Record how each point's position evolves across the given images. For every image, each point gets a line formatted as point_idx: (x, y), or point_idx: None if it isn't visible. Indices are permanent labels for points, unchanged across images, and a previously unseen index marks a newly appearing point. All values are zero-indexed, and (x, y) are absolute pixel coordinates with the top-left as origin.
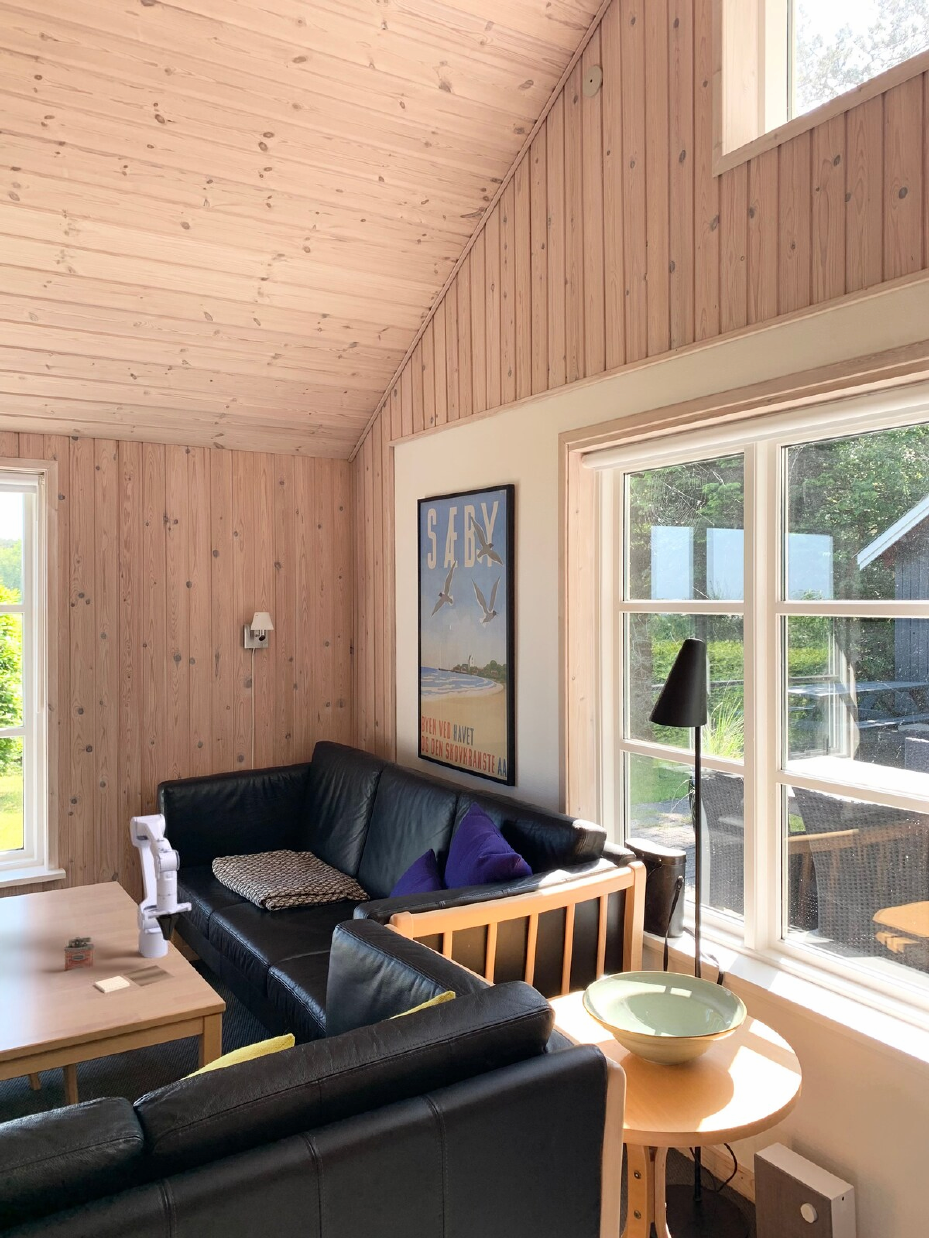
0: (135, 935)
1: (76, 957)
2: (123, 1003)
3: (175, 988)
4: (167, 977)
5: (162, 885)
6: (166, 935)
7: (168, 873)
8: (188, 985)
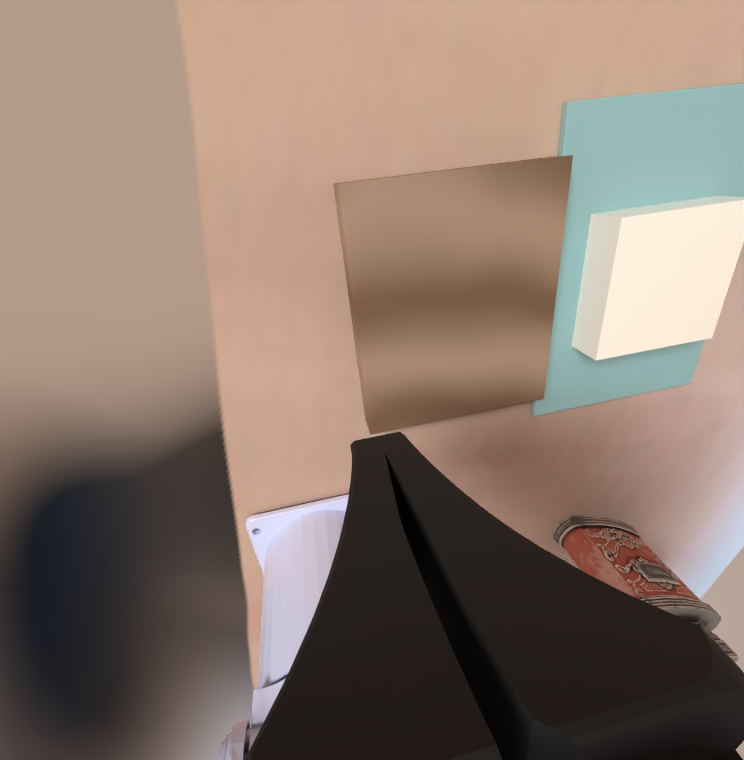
0: None
1: (660, 571)
2: (712, 24)
3: (367, 41)
4: (383, 203)
5: None
6: (426, 460)
7: None
8: (264, 28)
